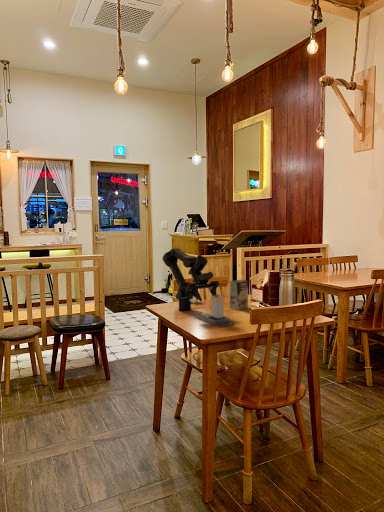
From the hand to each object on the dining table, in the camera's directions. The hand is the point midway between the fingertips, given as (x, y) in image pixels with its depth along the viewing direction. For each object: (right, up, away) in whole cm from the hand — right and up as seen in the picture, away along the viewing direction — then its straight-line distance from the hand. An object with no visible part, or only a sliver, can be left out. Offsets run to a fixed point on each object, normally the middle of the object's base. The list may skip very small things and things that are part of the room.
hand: (208, 299), depth 194 cm
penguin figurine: (-11, -7, +43) cm, 44 cm away
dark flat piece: (+2, -10, -2) cm, 11 cm away
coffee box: (+19, -8, +26) cm, 33 cm away
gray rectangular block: (+4, -10, -6) cm, 12 cm away
